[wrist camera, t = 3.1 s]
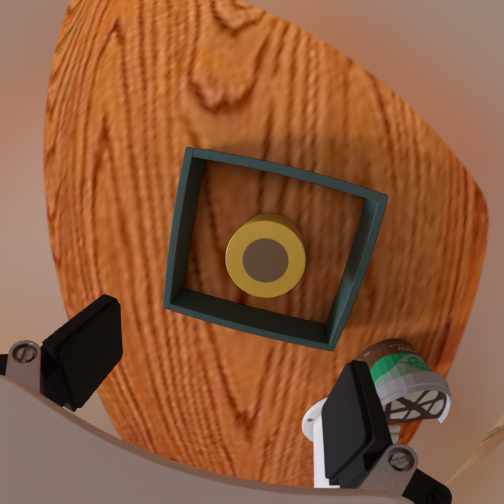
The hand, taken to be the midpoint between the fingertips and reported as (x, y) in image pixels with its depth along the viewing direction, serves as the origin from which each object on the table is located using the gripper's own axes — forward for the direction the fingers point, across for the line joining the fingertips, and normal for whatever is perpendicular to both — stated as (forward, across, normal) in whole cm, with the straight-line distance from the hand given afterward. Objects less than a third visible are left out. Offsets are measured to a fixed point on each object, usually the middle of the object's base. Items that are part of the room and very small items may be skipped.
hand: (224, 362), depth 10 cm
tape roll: (+18, -1, 0) cm, 18 cm away
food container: (+18, -19, +9) cm, 27 cm away
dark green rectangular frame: (+18, -1, 0) cm, 18 cm away
